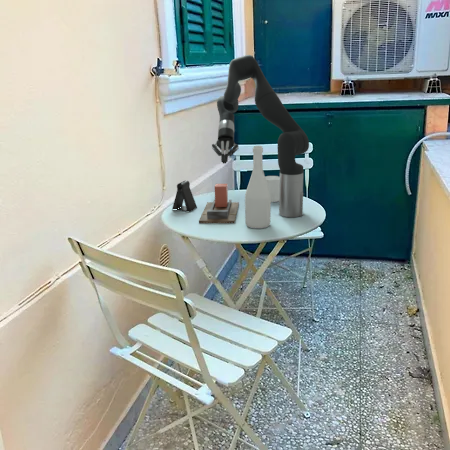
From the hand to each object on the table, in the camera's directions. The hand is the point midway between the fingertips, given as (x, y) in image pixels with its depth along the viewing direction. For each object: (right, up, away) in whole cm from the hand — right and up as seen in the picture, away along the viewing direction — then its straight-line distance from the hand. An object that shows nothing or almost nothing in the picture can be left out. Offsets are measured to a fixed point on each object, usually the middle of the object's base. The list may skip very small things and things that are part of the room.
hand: (224, 162), depth 202 cm
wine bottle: (+13, -29, -34) cm, 46 cm away
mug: (+20, -17, 0) cm, 26 cm away
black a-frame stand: (-17, -22, -11) cm, 30 cm away
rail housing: (-2, -24, -18) cm, 30 cm away
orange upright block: (-1, -20, -12) cm, 23 cm away
